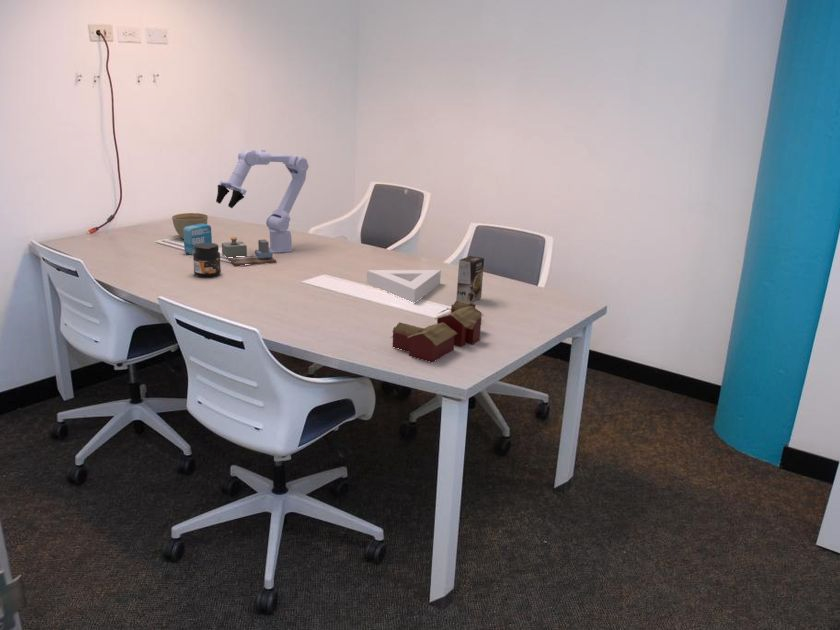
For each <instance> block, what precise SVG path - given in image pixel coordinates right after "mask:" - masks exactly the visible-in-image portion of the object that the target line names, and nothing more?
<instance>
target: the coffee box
mask: <svg viewBox="0 0 840 630" xmlns="http://www.w3.org/2000/svg"><path fill="white" fill-rule="evenodd" d="M458 261H459V262H458V273H457V285H456V289H457V290H456V299H455V301H456V300H461V301H463V302H469V303H473V304H474V302H477V301H479V300H480V298H481V299H482V291H483V277H484V267H485V266H484V265H485V264H484V263H485V258H484V257H480V256H472V255H469V256H466V257H464V258H461V259H459V260H458Z"/></svg>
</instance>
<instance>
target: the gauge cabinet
mask: <svg viewBox="0 0 840 630" xmlns="http://www.w3.org/2000/svg"><path fill="white" fill-rule="evenodd" d="M247 248H248V247H247V244H245V243H244V242H243V241H242V240H241V241H236V245H232V241H230V242H229V241H227V242H221V254H222V253H223V254H224V255H225V256H226V257H236V256H248V252H247V251H248V249H247ZM223 254H222V255H223ZM224 255H223V256H224ZM225 256H224V257H225ZM226 257H225V258H226Z"/></svg>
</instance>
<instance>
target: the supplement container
mask: <svg viewBox="0 0 840 630" xmlns="http://www.w3.org/2000/svg"><path fill="white" fill-rule="evenodd" d="M219 250H220V247H219V244H217V243H214V242H212V243H199V244H196V245H194V251H195V252H194V253H193V255H192V257H193V261H192V262H193V273H194V275H195V276H196V277H199V278H214V276H215V277H218V276H219V275H220V274H221V272H222V270H221V253H220V251H219Z"/></svg>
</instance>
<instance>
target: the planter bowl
mask: <svg viewBox="0 0 840 630" xmlns="http://www.w3.org/2000/svg"><path fill="white" fill-rule="evenodd" d="M171 219H172V223H173V228H174V229H175V231H176V233H177V235H179V236H180V239H181V238H182V239H184V234H183V229H184V228H185V227H187V226H192V225H197V224H206V225H208V219H209V218H208V214H204V213H199V212H197V213H196V212H195V213H194V212H187V213H178V214H175V215H174V214H173V215H172V217H171ZM182 239H181V240H182Z"/></svg>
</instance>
